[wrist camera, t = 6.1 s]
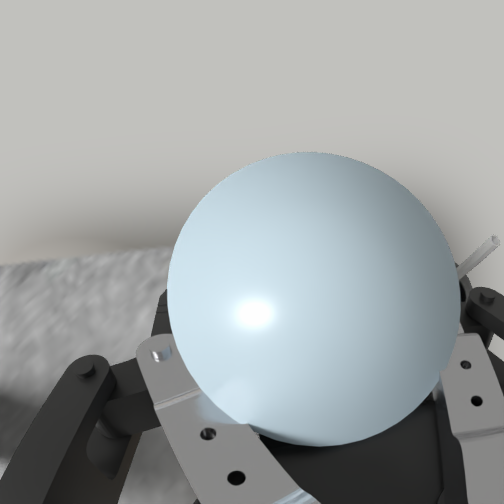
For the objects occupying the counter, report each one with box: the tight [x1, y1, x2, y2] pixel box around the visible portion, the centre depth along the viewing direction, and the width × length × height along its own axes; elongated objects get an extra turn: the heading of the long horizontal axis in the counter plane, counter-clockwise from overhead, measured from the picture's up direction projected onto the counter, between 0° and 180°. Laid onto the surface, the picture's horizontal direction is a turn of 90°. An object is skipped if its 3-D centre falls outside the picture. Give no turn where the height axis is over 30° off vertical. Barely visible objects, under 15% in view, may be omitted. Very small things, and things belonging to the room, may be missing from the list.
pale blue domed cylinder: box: [167, 152, 461, 447], centre depth 10 cm, size 5×5×11 cm
